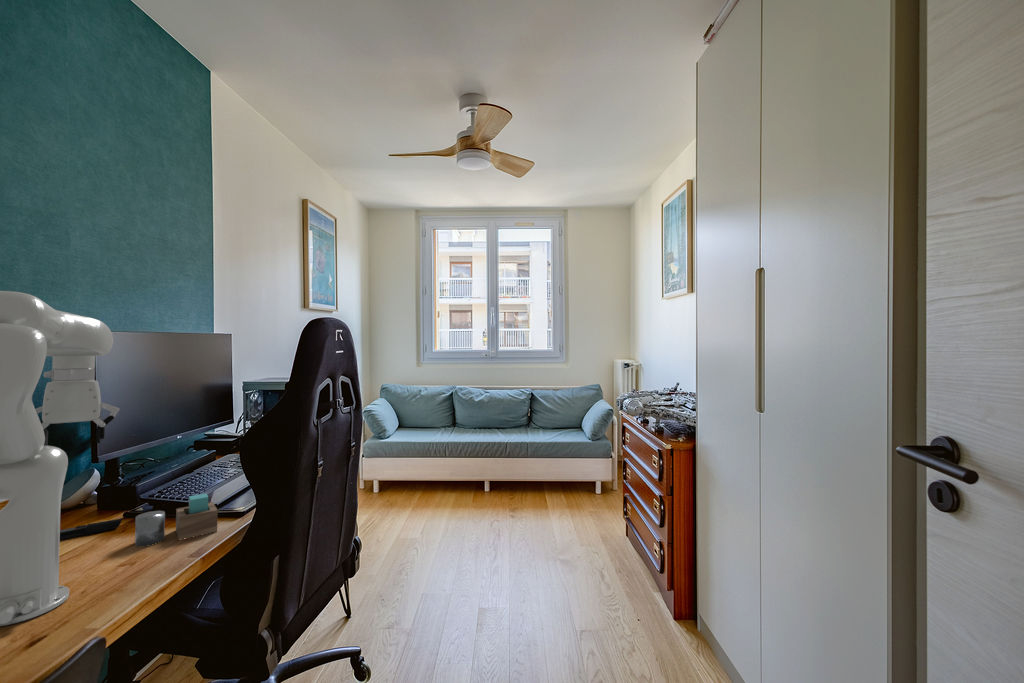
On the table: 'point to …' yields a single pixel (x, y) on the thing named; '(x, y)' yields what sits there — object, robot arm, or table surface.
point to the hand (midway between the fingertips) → (72, 444)
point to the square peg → (198, 503)
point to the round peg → (149, 528)
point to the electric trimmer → (89, 528)
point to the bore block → (196, 522)
